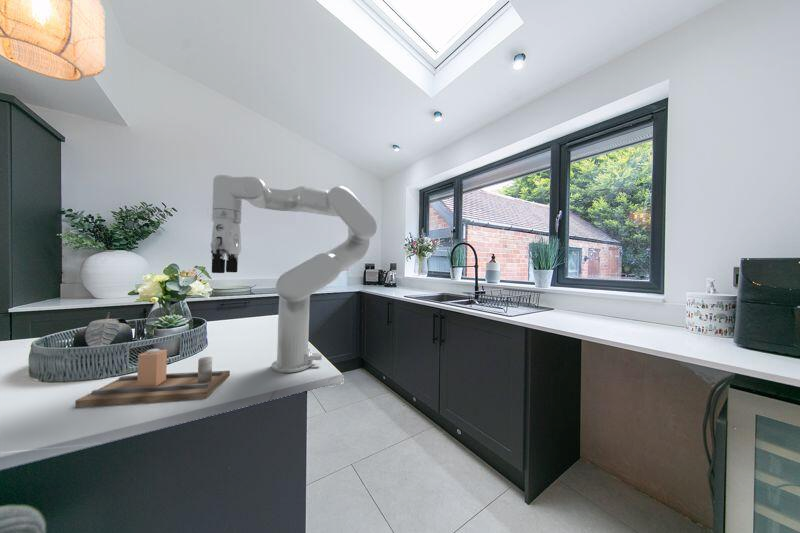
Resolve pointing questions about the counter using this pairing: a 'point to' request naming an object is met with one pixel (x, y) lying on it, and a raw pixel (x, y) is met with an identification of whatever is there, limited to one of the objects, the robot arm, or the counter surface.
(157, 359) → the block
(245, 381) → the counter surface
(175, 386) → the board
